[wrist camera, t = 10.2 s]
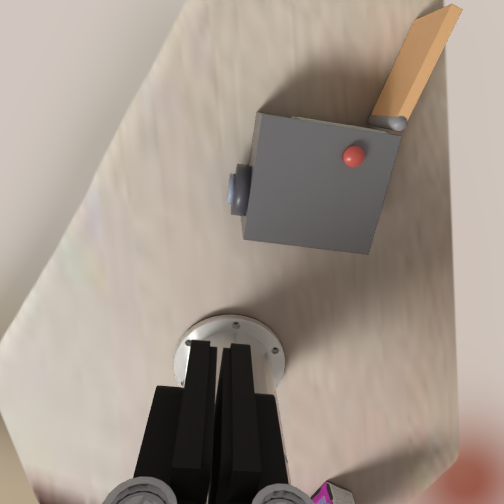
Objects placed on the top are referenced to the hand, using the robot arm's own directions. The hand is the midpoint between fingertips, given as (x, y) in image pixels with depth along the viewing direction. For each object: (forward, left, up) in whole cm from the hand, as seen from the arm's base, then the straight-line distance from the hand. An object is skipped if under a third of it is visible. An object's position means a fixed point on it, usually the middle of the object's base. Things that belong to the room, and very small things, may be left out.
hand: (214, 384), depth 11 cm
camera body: (+2, -7, -27) cm, 28 cm away
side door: (+12, -14, -27) cm, 32 cm away
